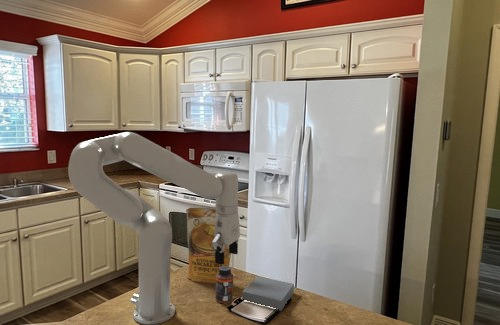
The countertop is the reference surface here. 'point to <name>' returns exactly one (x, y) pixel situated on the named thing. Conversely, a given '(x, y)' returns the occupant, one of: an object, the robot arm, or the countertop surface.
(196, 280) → the pancake mix bag
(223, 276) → the supplement bottle
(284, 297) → the slate riser block
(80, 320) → the countertop surface
